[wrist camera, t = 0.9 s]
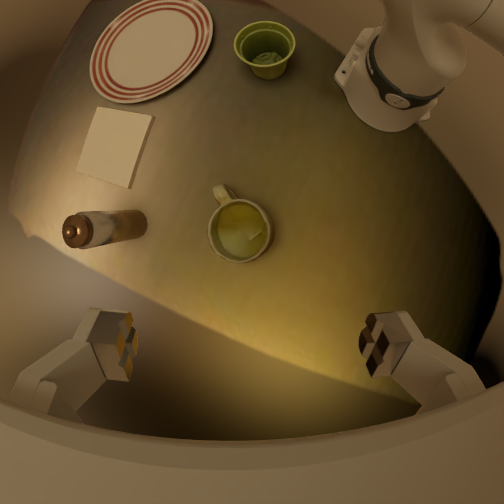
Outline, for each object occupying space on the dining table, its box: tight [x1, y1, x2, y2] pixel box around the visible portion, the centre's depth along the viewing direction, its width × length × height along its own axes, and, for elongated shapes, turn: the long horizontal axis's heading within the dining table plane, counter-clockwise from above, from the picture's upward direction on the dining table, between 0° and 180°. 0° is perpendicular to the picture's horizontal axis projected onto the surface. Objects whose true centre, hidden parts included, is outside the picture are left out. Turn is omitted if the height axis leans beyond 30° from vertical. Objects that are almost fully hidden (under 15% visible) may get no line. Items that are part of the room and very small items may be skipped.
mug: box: [207, 184, 274, 263], centre depth 46 cm, size 12×10×10 cm
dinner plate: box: [90, 0, 213, 103], centre depth 45 cm, size 27×27×3 cm
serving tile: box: [76, 107, 155, 189], centre depth 50 cm, size 14×14×1 cm
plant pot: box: [234, 21, 295, 80], centre depth 41 cm, size 9×9×9 cm
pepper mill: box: [62, 210, 147, 249], centre depth 42 cm, size 5×5×20 cm
